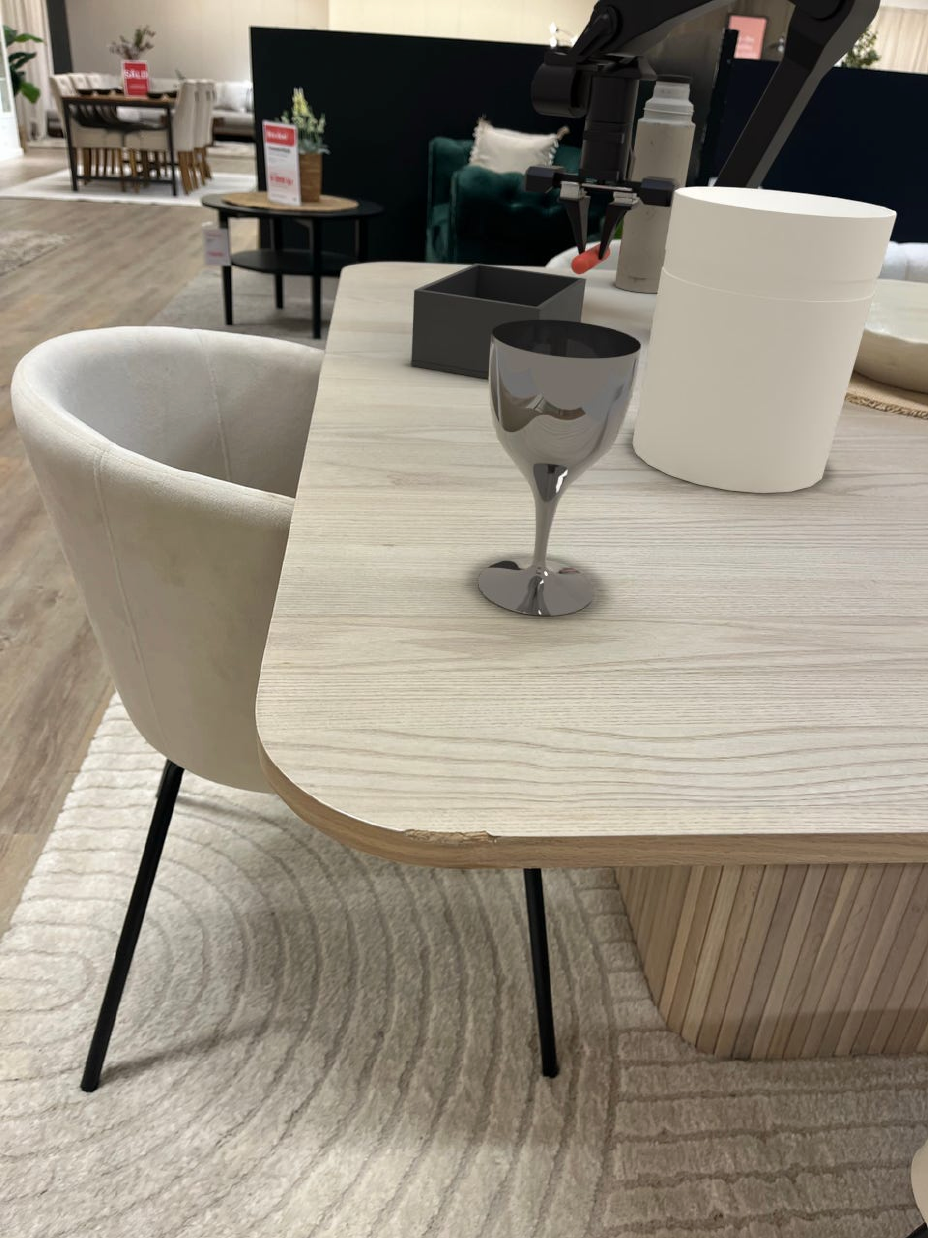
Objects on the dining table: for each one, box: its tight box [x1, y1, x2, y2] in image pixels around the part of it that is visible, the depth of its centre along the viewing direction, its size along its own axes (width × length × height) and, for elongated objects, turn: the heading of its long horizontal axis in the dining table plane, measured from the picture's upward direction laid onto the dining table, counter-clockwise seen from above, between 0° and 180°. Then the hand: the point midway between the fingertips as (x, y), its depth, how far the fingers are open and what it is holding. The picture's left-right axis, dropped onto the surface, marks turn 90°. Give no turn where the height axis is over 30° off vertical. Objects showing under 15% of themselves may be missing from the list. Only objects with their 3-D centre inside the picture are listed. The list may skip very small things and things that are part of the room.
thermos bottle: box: [614, 74, 696, 294], centre depth 134 cm, size 8×8×28 cm
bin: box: [410, 263, 587, 380], centre depth 100 cm, size 18×13×8 cm
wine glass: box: [477, 320, 642, 617], centre depth 53 cm, size 8×8×15 cm
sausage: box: [570, 243, 611, 275], centre depth 119 cm, size 14×2×2 cm, turn 160°
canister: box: [632, 186, 898, 494], centre depth 74 cm, size 16×16×20 cm
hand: (591, 258), depth 119 cm, fingers closed on sausage, 2 cm apart
